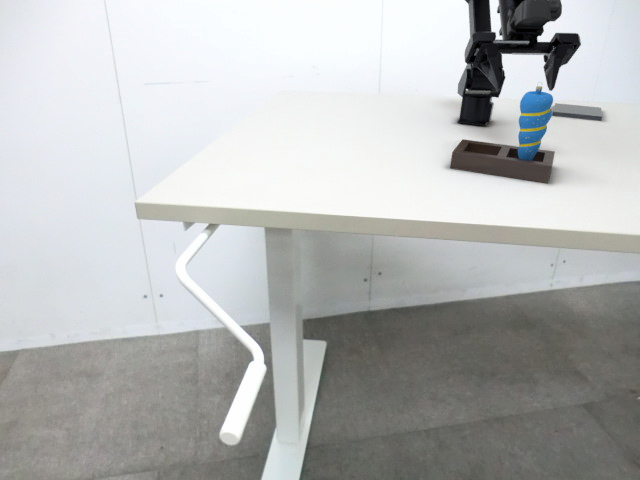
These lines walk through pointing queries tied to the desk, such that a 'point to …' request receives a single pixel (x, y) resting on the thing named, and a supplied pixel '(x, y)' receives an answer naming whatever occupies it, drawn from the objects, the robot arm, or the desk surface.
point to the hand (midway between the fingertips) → (525, 88)
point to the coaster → (577, 111)
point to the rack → (501, 161)
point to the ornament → (533, 121)
